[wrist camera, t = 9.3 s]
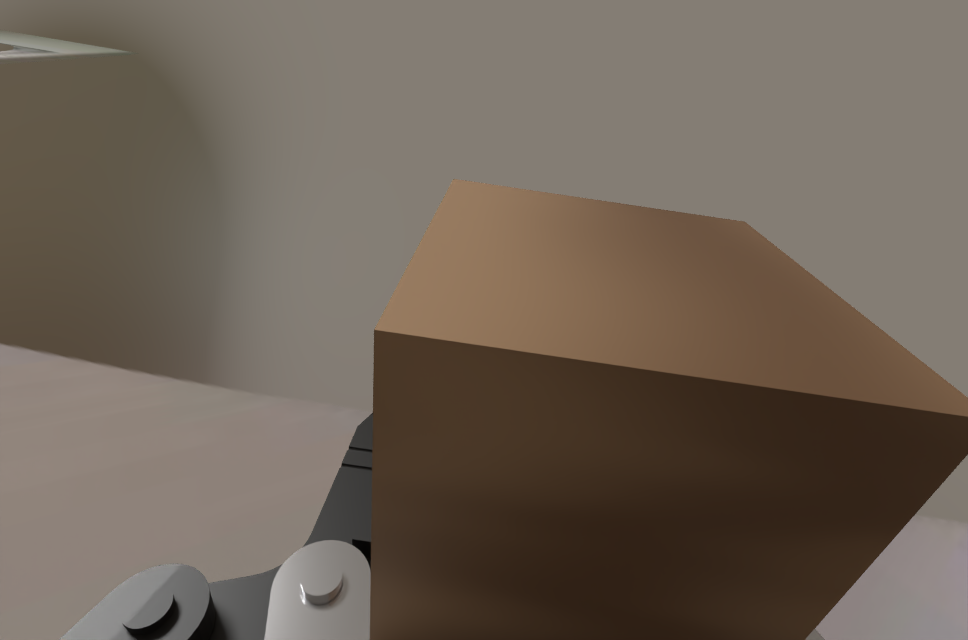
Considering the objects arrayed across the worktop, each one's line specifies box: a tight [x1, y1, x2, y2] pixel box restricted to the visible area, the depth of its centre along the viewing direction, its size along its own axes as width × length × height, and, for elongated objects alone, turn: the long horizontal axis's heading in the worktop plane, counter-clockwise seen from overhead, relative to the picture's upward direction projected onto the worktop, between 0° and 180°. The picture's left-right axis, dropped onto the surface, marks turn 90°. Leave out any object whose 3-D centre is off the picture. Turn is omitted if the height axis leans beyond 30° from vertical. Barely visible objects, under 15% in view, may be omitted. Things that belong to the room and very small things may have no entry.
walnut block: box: [370, 179, 968, 640], centre depth 8 cm, size 4×4×12 cm
